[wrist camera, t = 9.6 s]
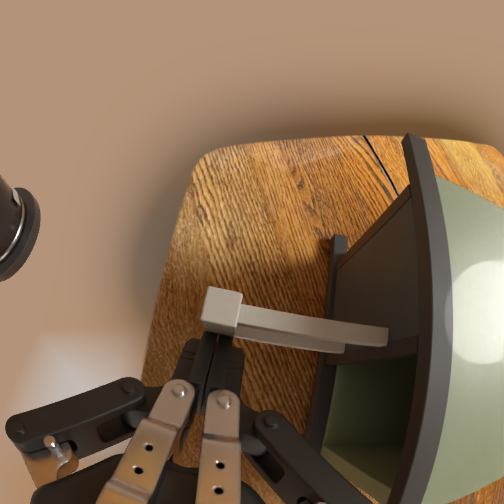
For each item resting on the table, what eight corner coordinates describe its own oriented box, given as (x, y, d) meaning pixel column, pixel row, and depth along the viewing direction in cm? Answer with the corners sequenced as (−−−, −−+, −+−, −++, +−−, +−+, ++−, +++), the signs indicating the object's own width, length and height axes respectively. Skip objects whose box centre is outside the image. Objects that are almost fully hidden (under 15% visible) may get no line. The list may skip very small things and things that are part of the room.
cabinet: (299, 452, 17) (387, 532, 5) (330, 238, 23) (407, 131, 12) (434, 443, 17) (543, 456, 5) (446, 267, 24) (536, 205, 12)
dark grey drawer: (209, 344, 18) (192, 320, 9) (233, 240, 21) (242, 138, 12) (335, 365, 18) (431, 354, 9) (345, 263, 21) (421, 188, 12)
